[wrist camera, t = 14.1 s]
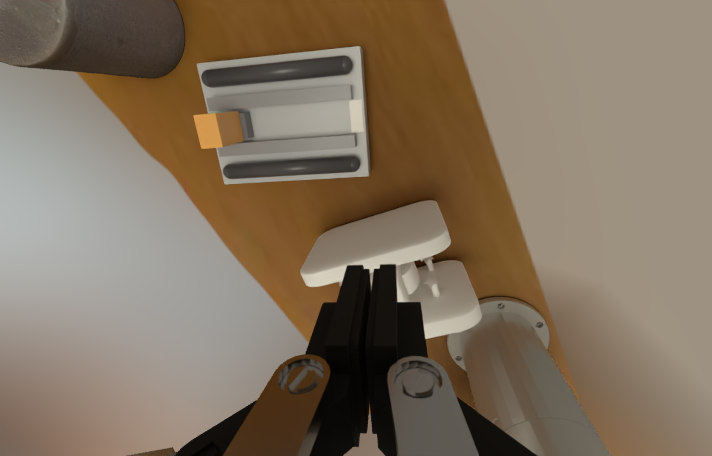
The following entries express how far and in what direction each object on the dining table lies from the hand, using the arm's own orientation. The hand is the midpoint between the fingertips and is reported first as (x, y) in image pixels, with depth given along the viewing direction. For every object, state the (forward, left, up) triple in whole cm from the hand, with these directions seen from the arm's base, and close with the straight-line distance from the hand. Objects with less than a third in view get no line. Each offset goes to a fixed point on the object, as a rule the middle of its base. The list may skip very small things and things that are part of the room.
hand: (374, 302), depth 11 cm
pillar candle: (+15, +25, -27) cm, 40 cm away
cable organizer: (-11, 0, -27) cm, 30 cm away
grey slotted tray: (+5, +10, -27) cm, 29 cm away
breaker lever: (+5, +15, -24) cm, 29 cm away
